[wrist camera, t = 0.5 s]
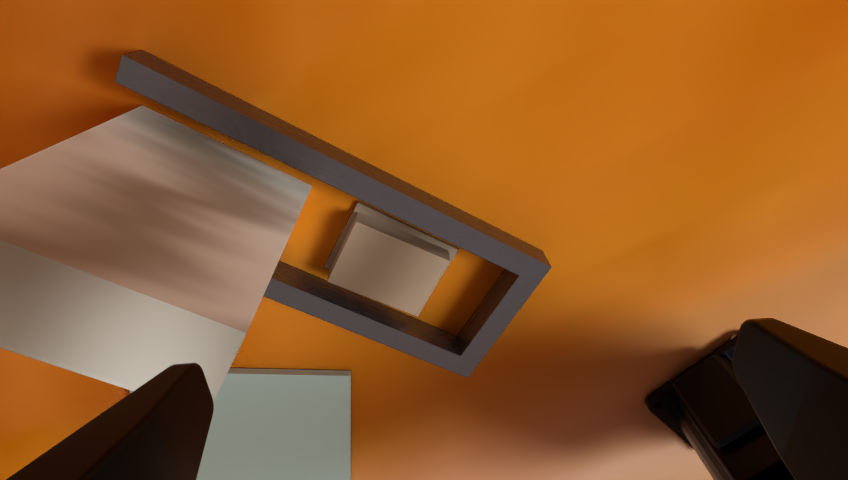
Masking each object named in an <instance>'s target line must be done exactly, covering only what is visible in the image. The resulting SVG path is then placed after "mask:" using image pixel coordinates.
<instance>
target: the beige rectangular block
mask: <svg viewBox="0 0 848 480" xmlns="http://www.w3.org/2000/svg"><path fill="white" fill-rule="evenodd" d="M311 187H312V185H310V184H308V183H306V182H303V181H301V180H299V179H297V178H295V177H293V176H291V175H289V174H287V173H284V172H282V171H280V170H278V169H276V168H274V167H272V166H270V165H268V164H265V163H263V162H261V161H259V160H257V159H255V158H253V157H251V156H249V155H246V154H244V153H242V152H240V151H238V150H236V149H234V148H232V147H230V146H227V145H225V144H223V143H221V142H219V141H217V140H215V139H213V138H211V137H208V136H206V135H204V134H202V133H200V132H198V131H196V130H194V129H192V128H189V127H187V126H185V125H183V124H181V123H179V122H177V121H175V120H173V119H170V118H168V117H166V116H164V115H162V114H160V113H158V112H156V111H154V110H151V109H149V108H147V107H145V106H143V105H142V106H140V107H138V108H135V109H133V110H131V111H129V112H127V113H124V114H122V115H120V116H118V117H115V118H113V119H111V120H109V121H106V122H104V123H102V124H100V125H97V126H95V127H93V128H91V129H88V130H86V131H84V132H82V133H79V134H77V135H75V136H73V137H70V138H68V139H66V140H64V141H62V142H59V143H57V144H55V145H53V146H50V147H48V148H46V149H44V150H41V151H39V152H37V153H35V154H32V155H30V156H28V157H26V158H23V159H21V160H19V161H17V162H14V163H12V164H10V165H8V166H6V167H3V168H1V169H0V348H3V349H6V350H9V351H12V352H15V353H18V354H21V355H24V356H27V357H30V358H33V359H36V360H39V361H42V362H45V363H48V364H51V365H54V366H58V367H61V368H64V369H67V370H70V371H73V372H76V373H79V374H82V375H85V376H88V377H91V378H94V379H97V380H100V381H103V382H106V383H110V384H113V385H116V386H119V387H122V388H125V389H128V390H131V391H135V390H136V389H138V388H139V387H141V386H142V385H143V384H145V383H146V382H148V381H149V380H151V379H152V378H154V377H155V376H156V375H158V374H159V373H161V372H162V371H164V370H165V369H167V368H168V367H169V366H171V365H174V364H183V363H197V364H199V365H200V366H201V368H202V370H203V372H204V375H205V378H206V381H207V384H208V386H209V389H210V392H211V395H212V398H213V402H214V400H215V398H216V395H217V393H218V391H219V389H220V387H221V385H222V383H223V381H224V379H225V377H226V375H227V373H228V371H229V369H230V367H231V364H232V362H233V360H234V358H235V356H236V354H237V352H238V350H239V348H240V346H241V344H242V342H243V340H244V338H245V336H246V333H247V331H248V329H249V327H250V324H251V322H252V320H253V318H254V315H255V313H256V311H257V309H258V306H259V304H260V302H261V300H262V298H263V295H264V293H265V291H266V289H267V286H268V284H269V282H270V280H271V277H272V275H273V273H274V271H275V268H276V266H277V264H278V262H279V259H280V257H281V255H282V253H283V250H284V248H285V246H286V244H287V241H288V239H289V237H290V235H291V232H292V230H293V228H294V226H295V223H296V221H297V219H298V217H299V214H300V212H301V210H302V208H303V205H304V203H305V201H306V199H307V196H308V194H309V192H310V190H311Z"/></svg>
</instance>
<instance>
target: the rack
mask: <svg viewBox="0 0 848 480" xmlns="http://www.w3.org/2000/svg"><path fill="white" fill-rule="evenodd" d="M115 82H116V83H118V84H120V85H122V86H125V87H127V88H129V89H131V90H133V91H135V92H137V93H139V94H141V95H143V96H145V97H148V98H150V99H152V100H154V101H156V102H158V103H160V104H162V105H164V106H166V107H168V108H170V109H173V110H175V111H177V112H179V113H181V114H183V115H185V116H187V117H189V118H191V119H193V120H196V121H198V122H200V123H202V124H204V125H206V126H208V127H210V128H212V129H214V130H216V131H219V132H221V133H223V134H225V135H227V136H229V137H231V138H233V139H235V140H237V141H239V142H241V143H244V144H246V145H248V146H250V147H252V148H254V149H256V150H258V151H260V152H262V153H264V154H267V155H269V156H271V157H273V158H275V159H277V160H279V161H281V162H283V163H285V164H287V165H290V166H292V167H294V168H296V169H298V170H300V171H302V172H304V173H306V174H308V175H310V176H312V177H315V178H317V179H319V180H321V181H323V182H325V183H327V184H329V185H331V186H333V187H335V188H338V189H340V190H342V191H344V192H346V193H348V194H350V195H352V196H354V197H356V198H358V199H361V200H363V201H365V202H367V203H369V204H371V205H373V206H375V207H377V208H379V209H381V210H383V211H386V212H388V213H390V214H392V215H394V216H396V217H398V218H400V219H402V220H404V221H406V222H409V223H411V224H413V225H415V226H417V227H419V228H421V229H423V230H425V231H427V232H429V233H432V234H434V235H436V236H438V237H440V238H442V239H444V240H446V241H448V242H450V243H452V244H454V245H457V246H459V247H461V248H463V249H465V250H467V251H469V252H471V253H473V254H475V255H477V256H480V257H482V258H484V259H486V260H488V261H490V262H492V263H494V264H496V265H498V266H500V267H503V268H505V270H504V271H503V273H502V274H501V276H500V277H499V278H498V280H497V281H496V283H495V284H494V286H493V287H492V288H491V290H490V291H489V293H488V294H487V295H486V297H485V298H484V300H483V301H482V302H481V304H480V305H479V307H478V308H477V309H476V311H475V312H474V314H473V315H472V316H471V318H470V319H469V321H468V322H467V323H466V325H465V326H464V328H463V329H462V331H461V332H460V333H459V335H458V336H455V335H453V334H450V333H448V332H446V331H443V330H441V329H439V328H436V327H434V326H432V325H429V324H427V323H425V322H422V321H420V320H417V319H415V318H413V317H410V316H408V315H406V314H403V313H401V312H399V311H396V310H394V309H392V308H389V307H387V306H384V305H382V304H380V303H377V302H375V301H373V300H370V299H368V298H366V297H363V296H361V295H358V294H356V293H354V292H351V291H349V290H347V289H344V288H342V287H340V286H337V285H335V284H332V283H330V282H327V281H325V280H323V279H321V278H318V277H316V276H314V275H311V274H309V273H307V272H304V271H302V270H300V269H297V268H295V267H292V266H290V265H288V264H285V263H283V262H281V261H279V262H278V264H277V266H276V268H275V271H274V273H273V275H272V277H271V280H270V282H269V284H268V286H267V289H266V291H265V293H264V295H263V296H265V297H267V298H270V299H272V300H275V301H277V302H280V303H282V304H285V305H287V306H290V307H292V308H295V309H297V310H300V311H302V312H305V313H307V314H310V315H312V316H315V317H317V318H320V319H322V320H324V321H327V322H329V323H332V324H334V325H337V326H339V327H342V328H344V329H347V330H349V331H352V332H354V333H357V334H359V335H362V336H364V337H367V338H369V339H372V340H374V341H377V342H379V343H382V344H384V345H387V346H389V347H392V348H394V349H397V350H399V351H402V352H404V353H407V354H409V355H412V356H414V357H417V358H419V359H422V360H424V361H427V362H429V363H432V364H434V365H437V366H439V367H442V368H444V369H447V370H449V371H452V372H454V373H457V374H459V375H462V376H464V377H467V378H468V377H469V376H470V374H471V373H472V372H473V370H474V369H475V368H476V366H477V365H478V364H479V362H480V361H481V360H482V358H483V357H484V356H485V355H486V353H487V352H488V351H489V349H490V348H491V347H492V345H493V344H494V343H495V341H496V340H497V339H498V337H499V336H500V335H501V333H502V332H503V331H504V329H505V328H506V327H507V325H508V324H509V323H510V321H511V320H512V319H513V317H514V316H515V315H516V313H517V312H518V311H519V310H520V308H521V307H522V306H523V304H524V303H525V302H526V300H527V299H528V298H529V296H530V295H531V294H532V292H533V291H534V290H535V288H536V287H537V286H538V284H539V283H540V282H541V280H542V279H543V278H544V276H545V275H546V274H547V272H548V271H549V270H550V268H551V265H550V263H549V262H548V260H547V258H546V256H545V254H544V253H543V251H542V250H540V249H538V248H536V247H534V246H532V245H530V244H528V243H526V242H524V241H522V240H520V239H518V238H516V237H514V236H512V235H510V234H508V233H506V232H504V231H502V230H500V229H498V228H496V227H494V226H492V225H490V224H488V223H486V222H484V221H482V220H480V219H478V218H476V217H474V216H472V215H470V214H468V213H466V212H464V211H462V210H460V209H458V208H456V207H454V206H452V205H450V204H448V203H446V202H444V201H442V200H440V199H438V198H436V197H434V196H432V195H430V194H428V193H426V192H424V191H422V190H420V189H418V188H416V187H414V186H412V185H410V184H408V183H406V182H404V181H402V180H400V179H398V178H396V177H394V176H392V175H391V174H389V173H387V172H385V171H383V170H381V169H379V168H377V167H375V166H373V165H371V164H369V163H367V162H365V161H363V160H361V159H359V158H357V157H355V156H353V155H351V154H349V153H347V152H345V151H343V150H341V149H339V148H337V147H335V146H333V145H331V144H329V143H327V142H325V141H323V140H321V139H319V138H317V137H315V136H313V135H311V134H309V133H307V132H305V131H303V130H301V129H299V128H297V127H295V126H293V125H291V124H289V123H287V122H285V121H283V120H281V119H279V118H277V117H275V116H273V115H271V114H269V113H267V112H265V111H263V110H261V109H259V108H257V107H255V106H253V105H251V104H249V103H247V102H245V101H243V100H241V99H239V98H237V97H235V96H233V95H231V94H229V93H227V92H225V91H223V90H221V89H219V88H217V87H215V86H213V85H211V84H209V83H207V82H205V81H203V80H201V79H199V78H197V77H195V76H193V75H191V74H189V73H187V72H185V71H183V70H181V69H179V68H177V67H175V66H173V65H171V64H169V63H167V62H165V61H163V60H161V59H159V58H157V57H155V56H153V55H151V54H149V53H147V52H145V51H143V50H141V51H137V52H133V53H128V54H124V55H122V57H121V61H120V65H119V68H118V72H117V76H116V79H115Z"/></svg>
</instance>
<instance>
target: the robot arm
mask: <svg viewBox="0 0 848 480" xmlns="http://www.w3.org/2000/svg"><path fill="white" fill-rule="evenodd" d="M645 404H646V405H647V407H648V409H649V410H650V411H651V412H652V413H653V414H654V415H656V416H657V417H658V418H659V419H660V420H661V421H663V422H664V423H665V424H666V425H667V426H668V427H669V428H671V429H672V430H673V431H674V432H675V433H676V434H678V435H679V436H680V437H681V438H682V439H683V440H685V441H686V442H687V443H688V444H689V445H690V446H691V447H693V448H694V450H695V451H696V453H697V454H698V456H699V457H700V459H701V460H702V462H703V464H704V465H705V467H706V468H707V470H708V471H709V473H710V474H711V476H712V478H713V479H714V480H848V348H846V347H843V346H841V345H838V344H836V343H833V342H831V341H828V340H826V339H823V338H821V337H819V336H816V335H814V334H811V333H809V332H806V331H804V330H801V329H799V328H796V327H794V326H791V325H789V324H786V323H784V322H781V321H779V320H776V319H773V318H761V319H749V320H746V321H744V322H743V324H742V325H741V327H740V330H739V334H738V335H737V336H736V337H734V338H733V339H731V340H730V341H728V342H727V343H725V344H724V345H722V346H721V347H720V348H718V349H717V350H715V351H714V352H712V353H711V354H709V355H708V356H706V357H705V358H703V359H702V360H700V361H699V362H697V363H696V364H694V365H693V366H691V367H690V368H689V369H687V370H686V371H684V372H683V373H681V374H680V375H678V376H677V377H675V378H674V379H672V380H671V381H669V382H668V383H666V384H665V385H663V386H662V387H660V388H659V389H658V390H656V391H655V392H653V393H652V394H650V395H649V396H648V397H647V398H646V399H645ZM213 411H214V403H213V398H212V395H211V392H210V389H209V386H208V384H207V381H206V378H205V375H204V372H203V370H202V368H201V366H200V365H199V364H197V363H183V364H174V365H171V366H169V367H168V368H167V369H165V370H164V371H162V372H161V373H159V374H158V375H156V376H155V377H154V378H152V379H151V380H149V381H148V382H146V383H145V384H143V385H142V386H141V387H139V388H138V389H136V390H135V391H133V392H132V393H130V394H129V395H128V396H126V397H125V398H123V399H122V400H120V401H119V402H117V403H116V404H115V405H113V406H112V407H110V408H109V409H107V410H106V411H104V412H103V413H102V414H100V415H99V416H97V417H96V418H94V419H93V420H91V421H90V422H89V423H87V424H86V425H84V426H83V427H81V428H80V429H78V430H77V431H76V432H74V433H73V434H71V435H70V436H68V437H67V438H65V439H64V440H63V441H61V442H60V443H58V444H57V445H55V446H54V447H52V448H51V449H50V450H48V451H47V452H45V453H44V454H42V455H41V456H39V457H38V458H37V459H35V460H34V461H32V462H31V463H29V464H28V465H26V466H25V467H24V468H22V469H21V470H19V471H18V472H16V473H15V474H14V475H12V476H11V477H9V478H8V479H6V480H196V479H197V475H198V471H199V467H200V463H201V459H202V455H203V451H204V447H205V444H206V440H207V436H208V432H209V428H210V424H211V420H212V416H213Z"/></svg>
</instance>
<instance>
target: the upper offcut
mask: <svg viewBox="0 0 848 480" xmlns="http://www.w3.org/2000/svg"><path fill="white" fill-rule="evenodd" d="M449 263H450V256H449V251H448V250H446V249H444V248H441V247H439V246H437V245H434V244H432V243H430V242H427V241H425V240H423V239H420V238H418V237H416V236H413V235H411V234H409V233H406V232H404V231H402V230H399V229H397V228H395V227H392V226H390V225H388V224H386V223H383V222H381V221H379V220H376V219H374V218H371V217H369V216H367V215H364V214H362V213H360V212H358V213H357V215H356V217H355V219H354V221H353V223H352V226H351V228H350V230H349V232H348V234H347V236H346V238H345V240H344V242H343V244H342V247H341V249H340V251H339V253H338V255H337V257H336V259H335V261H334V263H333V265H332V267H331V270H330V273H329V277H328V281H327V282H330V283H332V284H335V285H337V286H340V287H342V288H345V289H348V290H350V291H353V292H355V293H358V294H361V295H363V296H366V297H368V298H371V299H373V300H376V301H379V302H381V303H384V304H386V305H389V306H392V307H394V308H397V309H399V310H402V311H404V312H407V313H410V314H412V315H415V316H417V317H418V315H419V314H420V312H421V310H422V309H423V307H424V305H425V303H426V302H427V300H428V298H429V297H430V295H431V293H432V292H433V290H434V288H435V287H436V285H437V283H438V282H439V280H440V278H441V277H442V275H443V273H444V271H445V270H446V268H447V266H448V265H449Z"/></svg>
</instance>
